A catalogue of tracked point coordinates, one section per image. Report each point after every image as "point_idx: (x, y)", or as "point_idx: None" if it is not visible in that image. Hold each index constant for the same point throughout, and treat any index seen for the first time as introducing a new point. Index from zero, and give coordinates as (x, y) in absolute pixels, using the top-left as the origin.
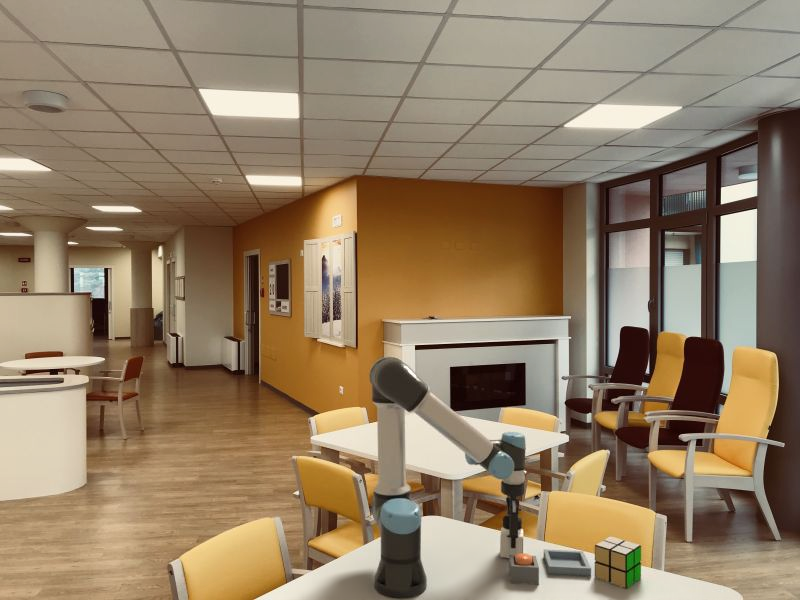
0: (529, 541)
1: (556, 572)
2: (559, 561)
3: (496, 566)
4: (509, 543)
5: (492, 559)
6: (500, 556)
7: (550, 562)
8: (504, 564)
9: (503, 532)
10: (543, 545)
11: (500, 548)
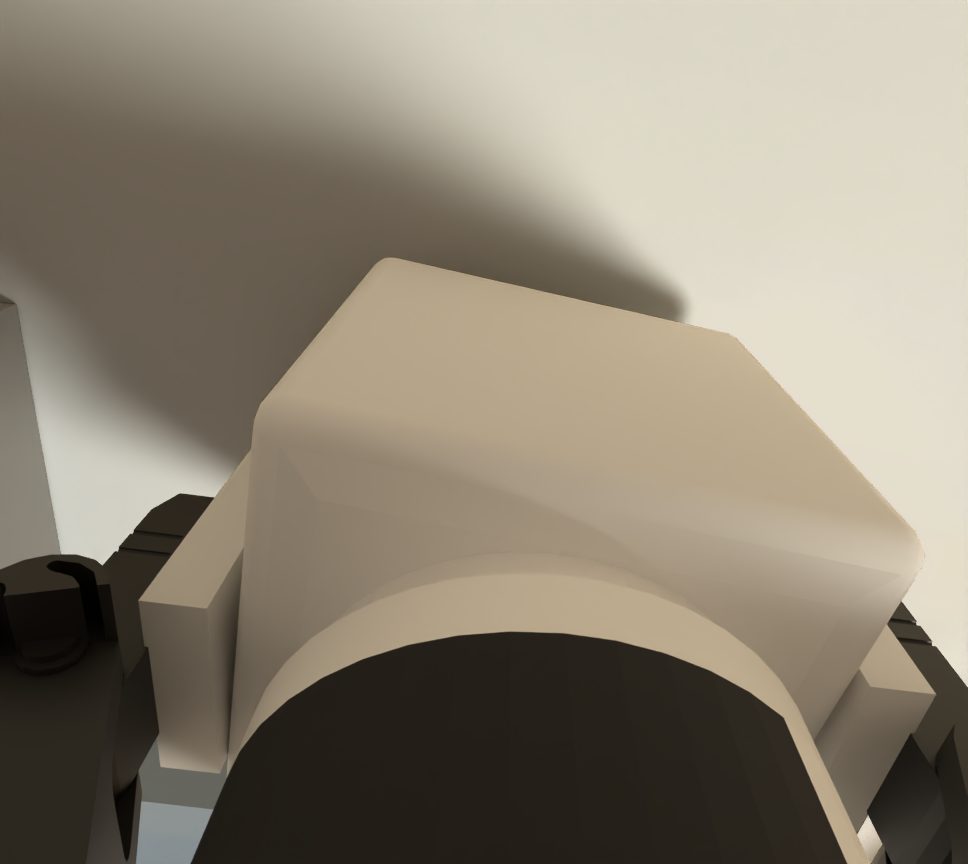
0: None
1: None
2: None
3: (132, 134)
4: (213, 514)
5: (395, 110)
6: (383, 260)
7: None
8: (227, 280)
9: (433, 528)
10: None
11: (356, 293)
